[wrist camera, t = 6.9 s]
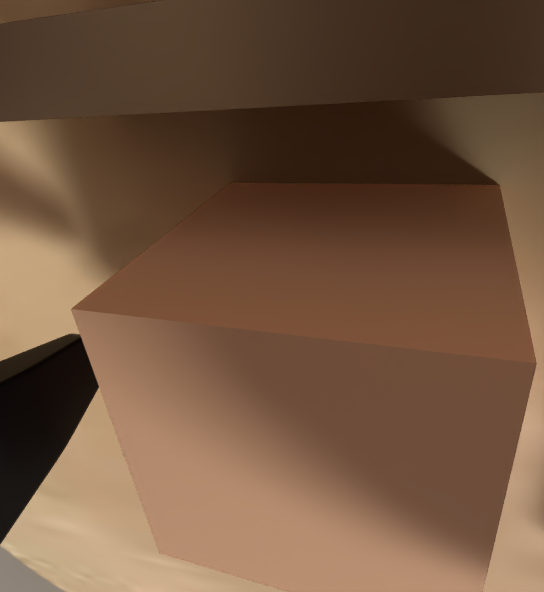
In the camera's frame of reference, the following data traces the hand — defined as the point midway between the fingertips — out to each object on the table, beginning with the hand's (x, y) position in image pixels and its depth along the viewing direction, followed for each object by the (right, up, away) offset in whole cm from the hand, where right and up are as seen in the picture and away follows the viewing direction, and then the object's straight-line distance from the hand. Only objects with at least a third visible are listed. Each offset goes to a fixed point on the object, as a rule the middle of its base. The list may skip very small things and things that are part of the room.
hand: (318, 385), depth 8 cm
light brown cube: (+1, +1, +2) cm, 3 cm away
